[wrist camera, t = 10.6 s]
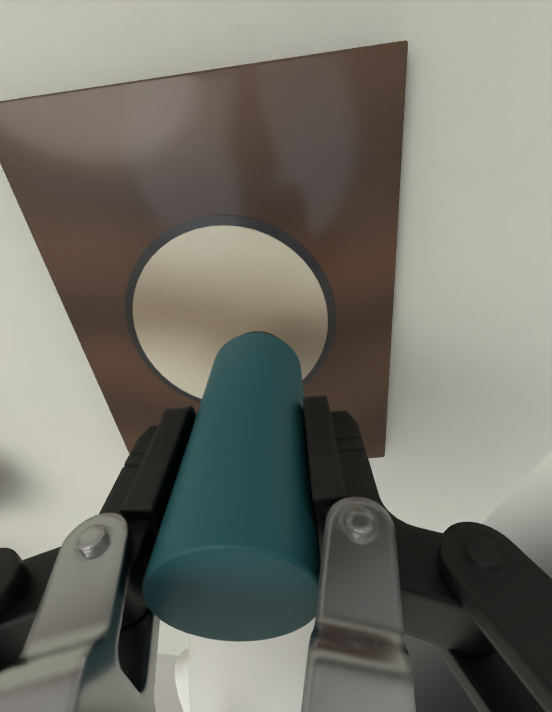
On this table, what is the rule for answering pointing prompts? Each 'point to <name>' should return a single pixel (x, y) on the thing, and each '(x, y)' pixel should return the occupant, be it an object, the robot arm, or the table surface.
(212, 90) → the wooden board with hole
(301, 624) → the teal cylinder
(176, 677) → the piggy bank
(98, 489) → the table surface
